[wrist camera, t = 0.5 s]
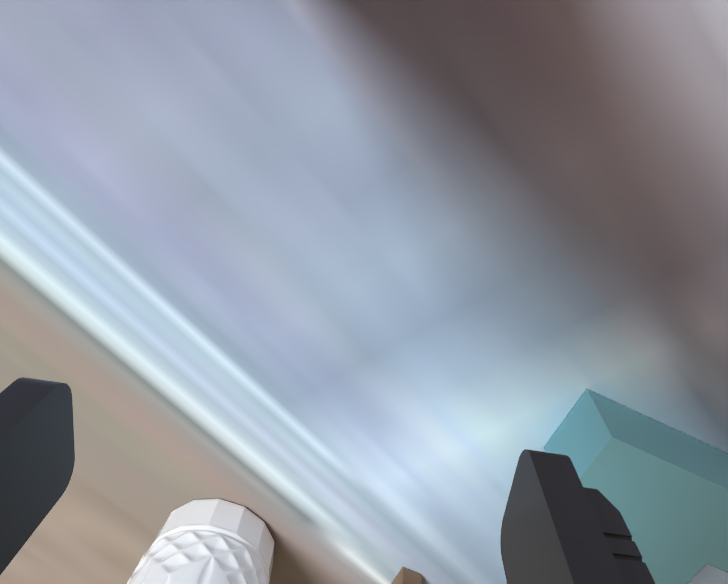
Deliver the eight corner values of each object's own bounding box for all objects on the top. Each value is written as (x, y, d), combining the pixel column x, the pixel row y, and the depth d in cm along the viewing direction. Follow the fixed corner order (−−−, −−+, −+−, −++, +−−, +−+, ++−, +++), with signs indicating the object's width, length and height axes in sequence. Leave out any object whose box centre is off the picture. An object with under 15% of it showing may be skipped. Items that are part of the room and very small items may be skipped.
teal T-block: (586, 388, 31) (612, 437, 27) (784, 479, 32) (834, 537, 28) (477, 537, 35) (486, 597, 31) (657, 612, 36) (686, 678, 32)
